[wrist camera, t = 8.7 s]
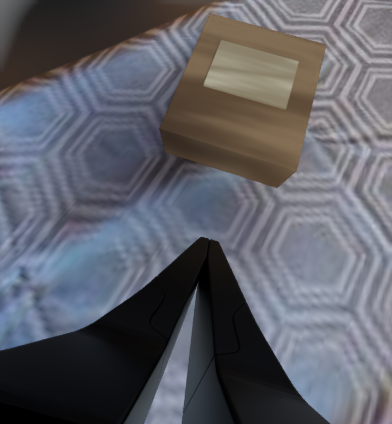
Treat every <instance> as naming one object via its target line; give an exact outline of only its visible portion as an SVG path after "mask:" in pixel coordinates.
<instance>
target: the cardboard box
mask: <svg viewBox="0 0 392 424" xmlns="http://www.w3.org/2000/svg"><path fill="white" fill-rule="evenodd" d="M325 49H326V44H322V43H318V42H315V41H311V40H307V39H304V38H300V37H296V36H293V35H289V34H285V33H281V32H278V31H274V30H270V29H267V28H263V27H259V26H256V25H252V24H248V23H244V22H241V21H237V20H233V19H230V18H226V17H222V16H219V15H215V14H211V13H210V14H209V16H208V19H207V21H206V23H205V25H204V28H203V30H202V32H201V35H200V37H199V39H198V41H197V44H196V46H195V48H194V51H193V53H192V55H191V57H190V60H189V62H188V64H187V67H186V69H185V71H184V73H183V76H182V78H181V80H180V82H179V85H178V87H177V89H176V92H175V94H174V96H173V98H172V101H171V103H170V105H169V108H168V110H167V112H166V114H165V117H164V119H163V121H162V124H161V126H160V128H159V129H160V133H161V137H162V141H163V145H164V149H165V152H166V153H169V154H172V155H175V156H178V157H181V158H184V159H188V160H191V161H194V162H197V163H200V164H203V165H206V166H210V167H213V168H216V169H219V170H222V171H225V172H229V173H232V174H235V175H238V176H241V177H244V178H247V179H251V180H254V181H257V182H260V183H263V184H266V185H269V186H273V187H276V188H278V187H279V186H280V185H281V184H282V183H283V182H284V181H286V180H287V179H288V178H289V177H290V176H291V175H292V174H294V173H295V172H296V171H297V167H298V162H299V158H300V154H301V150H302V145H303V141H304V137H305V133H306V129H307V124H308V120H309V116H310V112H311V108H312V103H313V99H314V95H315V91H316V87H317V82H318V78H319V74H320V70H321V65H322V61H323V57H324V53H325Z"/></svg>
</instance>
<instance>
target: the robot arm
mask: <svg viewBox="0 0 392 424" xmlns="http://www.w3.org/2000/svg"><path fill="white" fill-rule="evenodd" d="M197 284H198V285H197ZM196 287H197V291H196V300H195V309H194V318H193V327H192V336H191V345H190V354H189V363H188V372H187V381H186V390H185V399H184V408H183V417H182V424H330V423H329V422H328V421H327V420H326V419H324V418H323V417H322V416H321V415H320V414H319V413H318V412H316V411H315V410H314V409H313V408H312V407H311V406H310V405H309V404H308V403H307V402H306V401H305V400H304V399H303V398H302V396H301V395H300V394H299V393H298V391H297V390H296V389H295V387H294V386H293V384H292V383H291V381H290V380H289V378H288V376H287V375H286V373H285V371H284V370H283V368H282V366H281V364H280V363H279V361H278V359H277V358H276V356H275V354H274V353H273V351H272V349H271V347H270V346H269V344H268V342H267V341H266V339H265V337H264V335H263V334H262V332H261V330H260V328H259V326H258V325H257V323H256V321H255V319H254V317H253V315H252V313H251V310H250V308H249V306H248V304H247V303H246V300H245V298H244V295H243V293H242V291H241V289H240V287H239V285H238V282H237V280H236V278H235V276H234V274H233V272H232V269H231V267H230V265H229V263H228V261H227V259H226V256H225V254H224V252H223V250H222V248H221V246H220V243H219V242H218V241H215V240H209V239H208V238H205V237H200V238H199V239H197V240H196V241H195V242H194V243H193V244H192V245H191V246H190V247H189V248H187V249H186V250H185V251H184V252H183V253H182V254H181V255H180V256H179V257H177V258H176V259H175V260H174V261H173V262H172V263H171V264H170V265H169V266H167V267H166V268H165V269H164V270H163V271H162V272H161V273H160V274H159V275H158V276H156V277H155V278H154V279H153V280H152V281H151V282H149V283H148V284H147V285H146V286H145V287H143V288H142V289H141V290H140V291H138V292H137V293H136V294H134V295H133V296H131V297H130V298H129V299H127V300H126V301H124V302H123V303H121V304H120V305H118V306H117V307H116V308H114V309H113V310H111V311H110V312H108V313H107V314H105V315H104V316H103V317H101V318H100V319H98V320H97V321H95V322H93V323H92V324H90V325H88V326H86V327H84V328H82V329H79V330H77V331H74V332H70V333H66V334H62V335H59V336H55V337H51V338H47V339H44V340H40V341H36V342H32V343H28V344H25V345H21V346H17V347H13V348H10V349H5V350H1V351H0V424H144V422H145V420H146V417H147V414H148V412H149V409H150V407H151V404H152V402H153V399H154V396H155V394H156V391H157V389H158V386H159V383H160V381H161V378H162V376H163V373H164V370H165V368H166V365H167V363H168V360H169V357H170V355H171V352H172V350H173V347H174V345H175V342H176V339H177V337H178V334H179V332H180V329H181V326H182V324H183V321H184V319H185V316H186V313H187V311H188V308H189V306H190V303H191V301H192V298H193V295H194V293H195V290H196Z"/></svg>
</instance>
